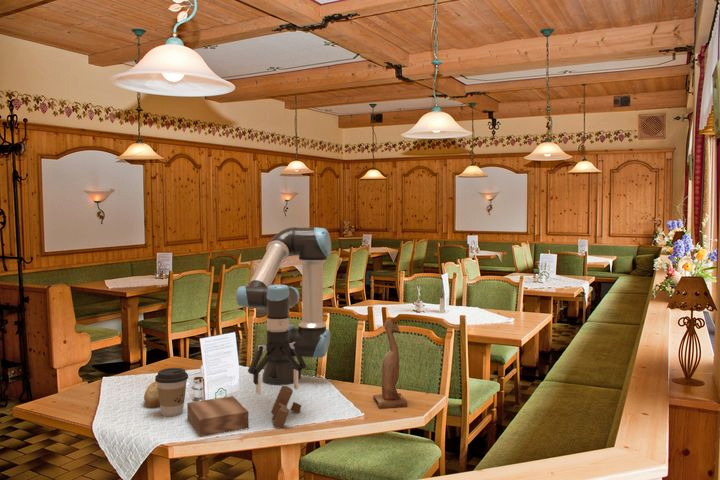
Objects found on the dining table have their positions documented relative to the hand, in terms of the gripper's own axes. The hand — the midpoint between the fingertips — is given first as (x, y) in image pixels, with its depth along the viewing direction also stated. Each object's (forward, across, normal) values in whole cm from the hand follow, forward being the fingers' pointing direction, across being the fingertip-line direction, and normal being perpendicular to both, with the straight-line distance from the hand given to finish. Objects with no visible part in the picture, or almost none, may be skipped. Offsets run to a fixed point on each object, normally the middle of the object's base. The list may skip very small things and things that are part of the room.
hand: (277, 390), depth 205 cm
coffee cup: (+10, -32, +21) cm, 40 cm away
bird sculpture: (+10, +43, -3) cm, 44 cm away
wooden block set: (+10, +2, -1) cm, 10 cm away
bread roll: (+10, -34, +35) cm, 50 cm away
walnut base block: (+10, -20, +4) cm, 23 cm away
